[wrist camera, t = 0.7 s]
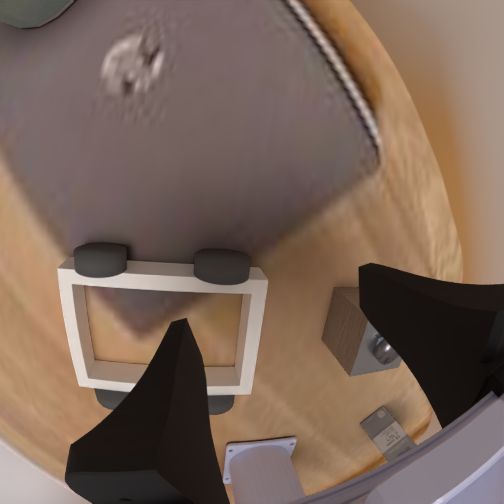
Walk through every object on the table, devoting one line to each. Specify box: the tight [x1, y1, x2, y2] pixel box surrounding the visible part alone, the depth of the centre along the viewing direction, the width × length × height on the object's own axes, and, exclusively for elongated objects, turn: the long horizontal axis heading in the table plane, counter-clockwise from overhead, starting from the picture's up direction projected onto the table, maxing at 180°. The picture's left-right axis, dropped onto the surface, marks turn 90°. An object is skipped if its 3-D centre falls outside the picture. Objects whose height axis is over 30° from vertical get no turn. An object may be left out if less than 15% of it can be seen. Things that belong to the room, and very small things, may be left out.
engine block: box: [322, 287, 402, 376], centre depth 22 cm, size 5×5×6 cm
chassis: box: [57, 243, 268, 415], centre depth 20 cm, size 12×14×4 cm
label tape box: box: [360, 406, 417, 462], centre depth 26 cm, size 9×4×12 cm, turn 37°
